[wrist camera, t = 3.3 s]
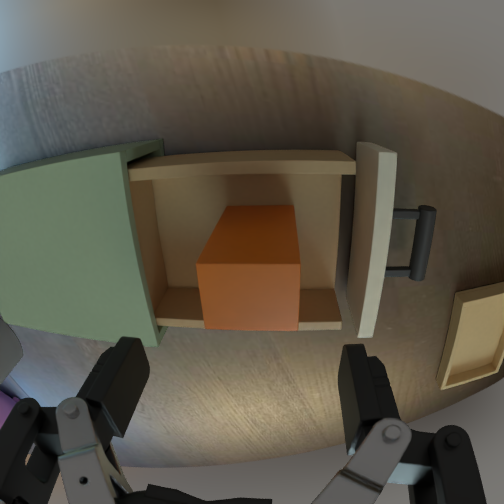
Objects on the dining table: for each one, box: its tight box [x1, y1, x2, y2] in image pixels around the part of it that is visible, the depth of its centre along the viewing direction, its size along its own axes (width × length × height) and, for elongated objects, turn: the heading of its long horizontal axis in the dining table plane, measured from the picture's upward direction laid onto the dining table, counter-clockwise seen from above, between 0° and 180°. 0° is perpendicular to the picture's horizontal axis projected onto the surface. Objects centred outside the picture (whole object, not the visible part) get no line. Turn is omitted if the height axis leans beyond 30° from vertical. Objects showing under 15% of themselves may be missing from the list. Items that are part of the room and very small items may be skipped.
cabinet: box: [0, 139, 168, 347], centre depth 24 cm, size 19×15×8 cm
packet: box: [196, 205, 301, 331], centre depth 20 cm, size 5×4×10 cm
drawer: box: [127, 142, 437, 338], centre depth 23 cm, size 22×13×6 cm, turn 92°
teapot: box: [0, 391, 20, 429], centre depth 42 cm, size 20×14×12 cm
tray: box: [436, 282, 504, 390], centre depth 28 cm, size 13×9×2 cm
